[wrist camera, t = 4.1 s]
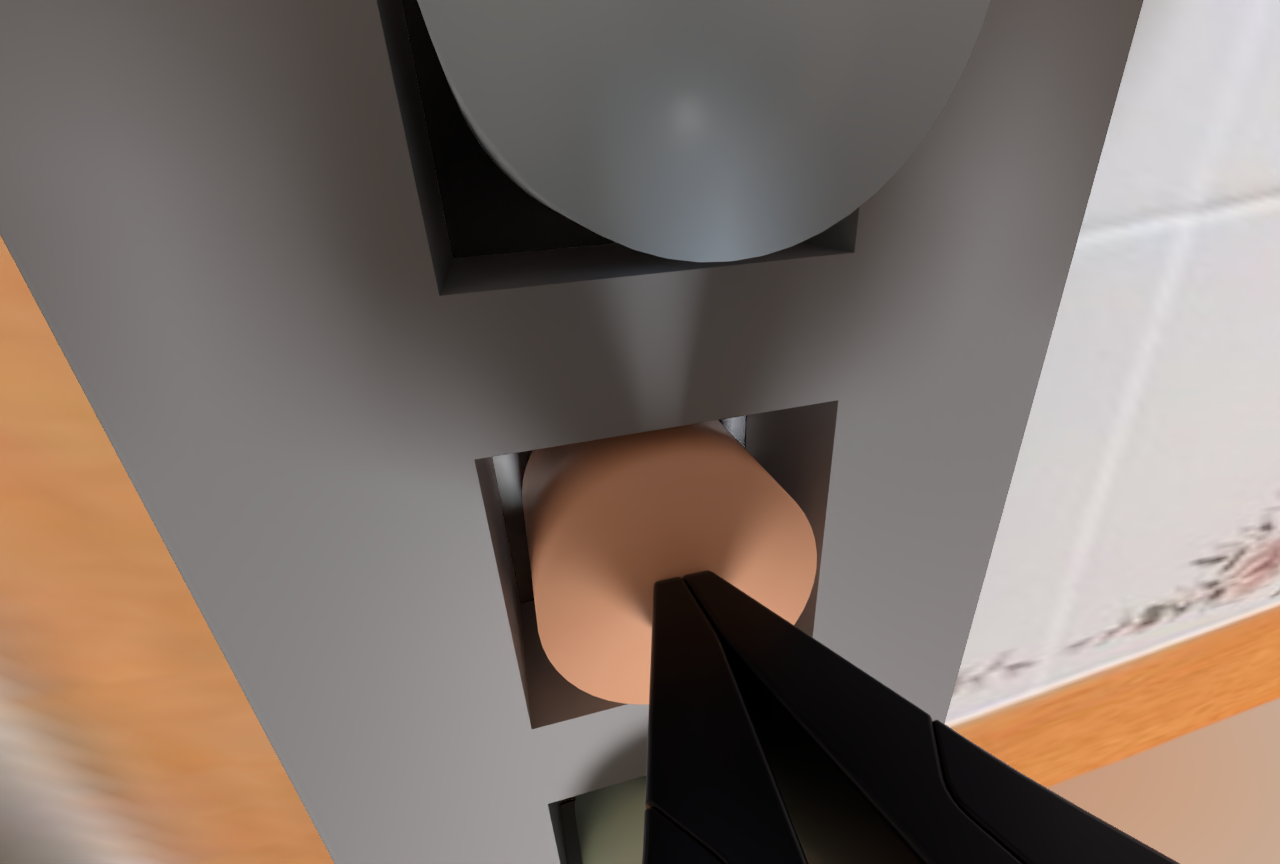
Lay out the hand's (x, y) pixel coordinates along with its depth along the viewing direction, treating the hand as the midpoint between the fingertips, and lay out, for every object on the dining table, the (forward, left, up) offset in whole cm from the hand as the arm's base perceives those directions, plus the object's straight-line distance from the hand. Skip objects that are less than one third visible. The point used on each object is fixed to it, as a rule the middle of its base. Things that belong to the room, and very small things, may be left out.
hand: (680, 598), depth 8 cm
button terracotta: (0, 0, -3) cm, 3 cm away
